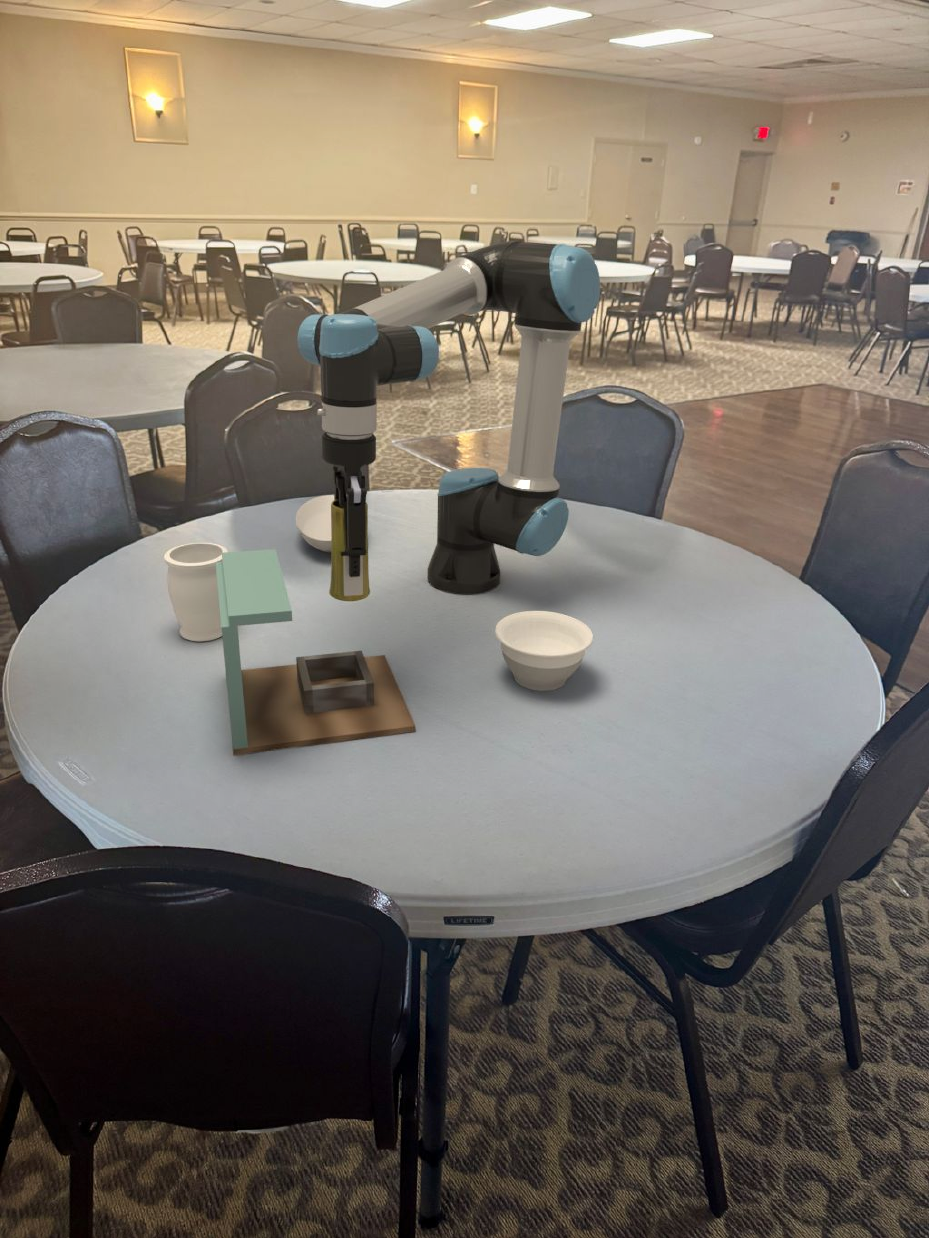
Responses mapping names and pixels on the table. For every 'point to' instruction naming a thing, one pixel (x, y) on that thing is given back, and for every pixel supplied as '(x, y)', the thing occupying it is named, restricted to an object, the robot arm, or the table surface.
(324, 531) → the bowl
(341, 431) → the robot arm
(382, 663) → the socket board
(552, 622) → the bowl
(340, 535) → the vase
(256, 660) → the table surface
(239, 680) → the green l-shaped post
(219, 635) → the jar
